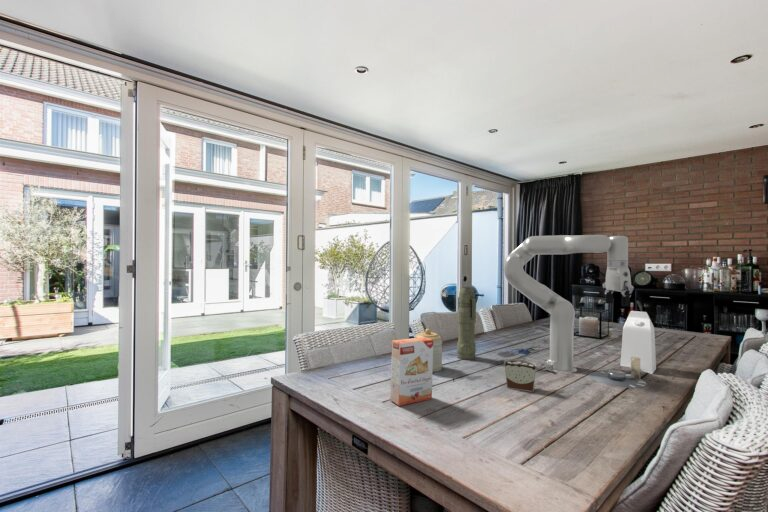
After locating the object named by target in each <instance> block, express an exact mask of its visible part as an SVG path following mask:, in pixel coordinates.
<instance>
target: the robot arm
mask: <svg viewBox="0 0 768 512" xmlns="http://www.w3.org/2000/svg"><path fill="white" fill-rule="evenodd" d="M581 253H582V254H583V253H584V254H585V253H586V254H587V253H594V254H600V253H606V254H607V255H606V256H607V258H606V259H607V260H606V272H605V281H604V282H603V283H602V285H601V286H602V288H603V291H604V295H605V298H604V299H605V300H604V302H605V304H614V294H613V293H614V292H620V294H621V295H622V296H621V300H620V301H621V302H620V303H621V307H630V305H631V303H630V302H631V301H630V300H631V299H630V298H631V296H632V295H633V291H634V288H635V287H634V286H633V285H632V279H631V278H632V277H631V272H630V268H629V238H628V236H626V235H611V236H608V235H605V234H582V235H577V234H576V235H575V234H574V235H568V234H565V235H564V234H559V235H533V236H532V235H531V236H529V237H527V238H525V239H524V241H523V242H522V243H520V245H518V246H517V247H516V248H515V249H514V250H512V251H511V252H510V253H509V254H508V255H507V256H506V257H505V259H504V265H503V273H504V276H505V278H506V281H507V282H508V283H509V284H510V285H511V286H512V288H513V289H515V290H517V291H518V292H519V293H521V294H522V295H524V296H525V297H526V298H527V299H529V301H531V302H532V303H533V304H535V305H537V306H538V307H540V308H541V309H543V310H544V311H545V312H546V313H548V314H549V315H550V320H549V358H547V360H545V361H543V360H539V361H538V365H539V366H540V367H541V366H542V367H543V366H544V367H545V369H546V370H547V371H549V372H551V373H555V374H557V372H560V373H562V372H563V373H575V372H577V371H578V369H577V368H576V367H574V333H575V332H574V330H575V329H574V328H575V327H574V326H575V317H576V316H575V315H576V312H575V311H576V310H575V307H574V306H573V304H572V303H571V301H569V300H567V299H565V298H564V297H562V296H561V295H559V294H558V293H556V292H554V291H553V290H552V289H551V288H549V287H547V285H545V284H543V283H541V282H539V281H538V280H536V279H535V278H533V277H532V276H531V275H529V274H528V273H527V272H526V271H525V269H524V266H525V265H526V264H527V263H528V262H529V261H530V260H532V259H533V258H534V257H535V256H536V255H538V256H539V255H540V256H541V255H543V256H544V255H545V256H547V255H570V254H581Z"/></svg>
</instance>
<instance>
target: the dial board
mask: <svg viewBox="0 0 768 512" xmlns="http://www.w3.org/2000/svg"><path fill="white" fill-rule="evenodd" d="M588 378H590V379H592V380H593V381H595V382H597V383H601V384H604V385H608V386H614V387H619V388H628V389H629V388H630V389H638V388H639V389H641V388H645V387H646V386H648V383H647V382H646V381H645V380H644V379H641V378H640V379H635V378H626V379H625V380H616V379H611V378H609V377H608V371H594V372H593V371H592V372H590V373H588Z"/></svg>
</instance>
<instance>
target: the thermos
mask: <svg viewBox="0 0 768 512" xmlns="http://www.w3.org/2000/svg"><path fill="white" fill-rule="evenodd" d="M458 292H459V293H458V297H457V323H458V326H457V327H458V333H457V334H458V335H457V337H458V340H457V343H456V352H457V358H458V359H460V360H465V361H470V360H471V361H472V360H475V359H476V348H477V347H476V346H477V345H476V341H475V335H476V334H475V333H476V331H475V329H476V328H475V326H476V325H475V324H476V319H477V300H476V298H475V297H476V295H475V290H474V288H473V287H471V286H462V287H460V289H459V291H458Z"/></svg>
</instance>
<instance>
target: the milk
mask: <svg viewBox="0 0 768 512" xmlns="http://www.w3.org/2000/svg"><path fill="white" fill-rule="evenodd" d="M655 336H656V335H655V326H654V324H653V322H652V320H651V318H650V316H649V314H648V312H647V311H638V310H631V311H630V312H629V314H628V316H627V317H626V320H625V322H624V325H623V327H622V336H621V338H622V339H621V352H620V363H619V364H620V366H621V367H626V368H631V357H639V358H640V371H642V372H645V373H648V374H650V375H653V374H654V372H656V369H657V356H656V337H655Z"/></svg>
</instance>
